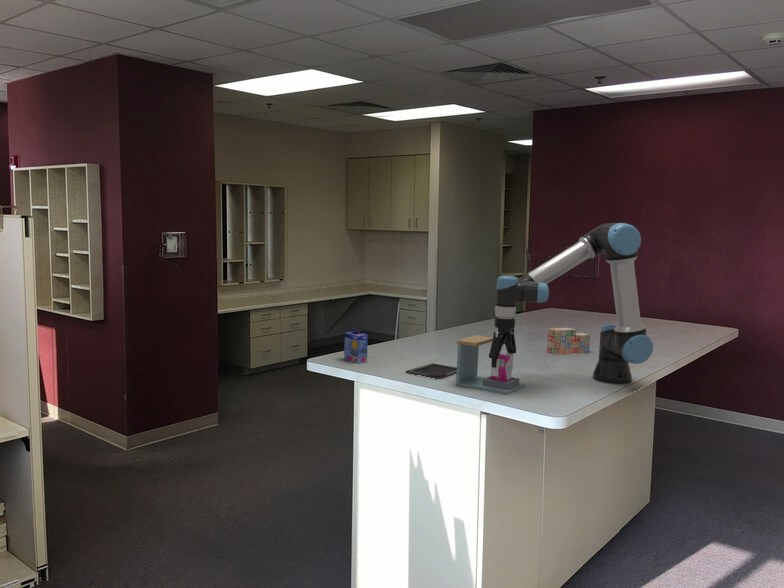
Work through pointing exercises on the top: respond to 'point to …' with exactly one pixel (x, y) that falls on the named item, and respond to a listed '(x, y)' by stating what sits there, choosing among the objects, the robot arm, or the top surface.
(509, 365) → the supplement box
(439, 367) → the picture frame
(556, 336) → the stack of blocks
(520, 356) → the top surface
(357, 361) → the ink cartridge box
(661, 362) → the top surface
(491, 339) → the socket stand
